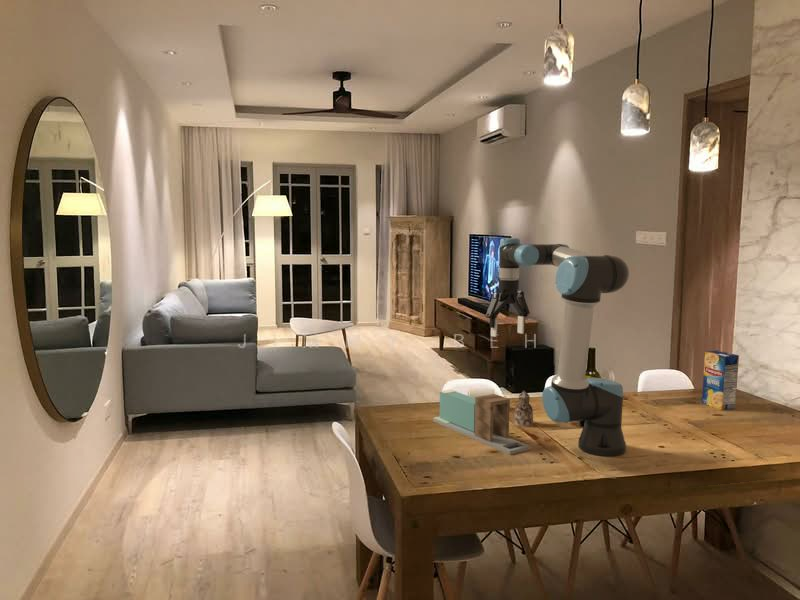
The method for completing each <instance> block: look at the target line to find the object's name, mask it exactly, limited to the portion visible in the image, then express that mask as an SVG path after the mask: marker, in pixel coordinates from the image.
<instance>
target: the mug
mask: <svg viewBox="0 0 800 600" xmlns="http://www.w3.org/2000/svg"><path fill="white" fill-rule="evenodd" d="M490 394H495V391H494V388H468V389H467V396H470V397H473V398H475V397H479V396H484V395H490Z"/></svg>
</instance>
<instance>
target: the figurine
mask: <svg viewBox="0 0 800 600" xmlns="http://www.w3.org/2000/svg"><path fill="white" fill-rule="evenodd" d="M530 398H531V397H530V395H529V394H528V393H527V392H526V390H522V392H520V393H519V396H518V403H517V404H516V405H515V408H514V416H513V424H514V425H516V426H518V427H523V428H525V427H532V426H533V425H534V411H533V406H532V405H531V404H530Z"/></svg>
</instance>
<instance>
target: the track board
mask: <svg viewBox="0 0 800 600" xmlns="http://www.w3.org/2000/svg"><path fill="white" fill-rule="evenodd" d="M432 422H434V423H436V424H438V425H441V426H443V427H444V428H448V429H450V430H452V431H455V432H456V433H459V434H461V435H464V436H466V437H468V438H471V440H472V439H473V440H475V441H477V442H480V443H482V444H484V445H487V446H489V447H491V448H493V449H495V450H498V451H501V452H503V453H505V454H508V455H509V456H510V455H514V454H518V453H523V452H526V451H530V450H531V445H529V444H526V443H524V442H521V441H518V440H516V439H513V438H512V437H509V438H504V437H501V436H499V435H496V434H494V433H493V442H488V441H486V440H484V439H481V438H479V437H477V436H475V432H473V431H470V430H468V429H466V428H463V427H461V426H458V425H456V424H454V423H451V422H449V421H446V420H444V419H442V418H440V415H439V416H435V417H433V418H432Z"/></svg>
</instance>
